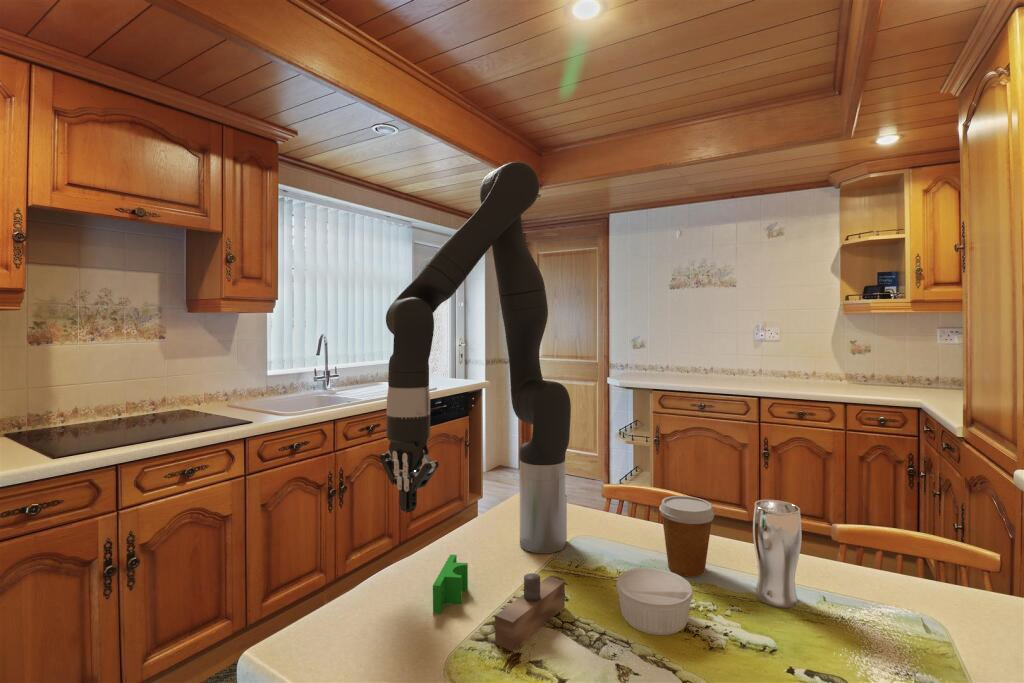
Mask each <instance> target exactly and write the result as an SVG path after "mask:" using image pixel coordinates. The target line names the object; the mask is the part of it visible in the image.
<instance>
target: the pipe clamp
mask: <svg viewBox="0 0 1024 683" xmlns="http://www.w3.org/2000/svg"><path fill="white" fill-rule="evenodd" d="M468 566H469V564H468V562H457V554H449V556H448V558H447V560H446V561H445V563H444V565H443V566H442V568H441V570H440V571H439V573H438V575H437V577H436V579H435V580H434V583H433V584H432V614H436V615H437V614H438V615H441V613H442V611H443V609H444V606H445V605H456V606H457V605H460V606H461V605H462V604H463V592H465V591H468V589H469V584H468V583H469V578H468V577H469V574H468V573H469V572H468V571H469V570H468V569H469V568H468Z"/></svg>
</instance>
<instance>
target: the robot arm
mask: <svg viewBox="0 0 1024 683" xmlns="http://www.w3.org/2000/svg"><path fill="white" fill-rule="evenodd" d="M479 187H480V188H479V198H480V203H481V205H480V206H479V207H478V208H477V210H476V211H475V212H474V213H473V214H472V215H471V216H470V218H468V219H467V221H465V223H463V225H461V226H460V227H459V228H458V229H457V230H456V231H455V232H454V233H453V234H452V235H451V236H449V238H448V239H447V240H446V241H445V242H443V244H442V245H441V246H440V247H439V249H438V250H436V252H435V253H434V255H433V256H432V257H431V258H430V260H429V261H428V262H427V263H426V264H425V266H424V267H423V268H422V269H421V271H420V273H419V274H418V275H417V277H416V278H414V280H413V281H412V282H411V283H410V284H409V285H408V286H407V287H406V288H405V289H404V290H403V291H402V292H401V293H400V294H399V295H398V296H397V297H396V298H395V300H394V301H393V302H392V303H391V304H390V306H389V307H388V309H387V311H386V314H385V324H386V327H387V329H388V331H389V332H390V333H391V334H392V335H393V345H392V346H393V351H392V354H391V355H390V357H389V360H388V371H387V373H388V375H387V376H388V378H387V380H388V381H387V382H388V388H387V394H386V396H387V397H386V430H385V431H386V434H385V435H386V439H387V440H388V441H389V444H388V450H387V451H386V452H385V453H381V454H380V455H379V461H380V463H381V465H382V467H383V469H384V472H385V473H386V475H387V478H388V480H389V481H390V484H391V485H396V486H397V487H396V488H397V489H398V491H399V507H400V509H399V510H400V511H401V512H404V513H407V514H408V513H411V512H414V511H415V509H416V508H417V504H418V503H417V501H418V500H417V499H418V489H421V488H424V487H426V486H427V484H428V483H429V482H430V479H431V478H432V477H433V476H434V474H435V472H436V470H437V469H438V468H439V466H440V465H439V462H438V461H437V460H432V458H431V457H430V456H429V449H428V444H427V443H428V440H429V439H430V437H431V392H430V363H429V362H430V361H429V360H430V356H431V352H432V345H433V341H434V340H433V338H434V333H435V332H434V331H435V318H434V313H435V311H436V310H437V309H438V307H440V305H441V304H443V303H445V302H447V301H448V300H449V299H450V298H451V297H452V296H454V294H455V293H456V292H457V290H458V289H459V288H460V286H461V285H462V283H463V282H464V281H465V279H466V278H467V277H468V276H469V274H470V273H471V272H472V270H473V269H474V268H475V267H476V266H477V264H478V263H479V261H480V260H481V258H483V256H484V255H485V254H486V253H487V251H488V250H489V249H490V248H492V254H493V255H492V257H493V263H494V270H495V274H496V275H495V276H496V281H497V288H498V290H497V291H498V295H499V296H498V298H499V304H500V310H501V316H502V321H503V326H504V332H505V333H504V334H505V341H506V348H507V354H508V364H509V366H508V367H509V380H510V398H511V406H512V409H513V412H514V414H515V416H516V417H517V418H518V420H520V421H521V422H523V423H526V424H529V425H532V432H531V433H532V434H531V435H532V436H531V440H530V441H527V442H524V443H522V445H520V448H519V545H520V547H521V548H522V549H523V550H525V551H527V552H529V553H530V552H531V553H535V554H551V553H556V552H560V551H561V550H563V549H564V548H565V547H566V541H567V538H568V536H567V535H568V532H567V529H568V528H567V524H568V523H567V521H568V520H567V519H568V518H567V514H568V513H567V512H568V510H567V509H568V508H567V503H568V502H567V500H568V499H567V494H566V453H567V450H568V447H569V445H570V439H571V437H570V434H571V417H572V416H571V413H572V409H571V408H572V405H571V404H572V402H571V398H570V394H569V391H568V389H567V388H566V387H565V386H564V385H563V384H562V383H560V382H556V381H551V380H545V379H543V374H542V369H541V361H540V360H541V359H540V348H541V343H542V341H543V338H544V334H545V331H546V326H547V323H548V322H547V321H548V319H549V317H548V316H549V306H548V299H547V292H546V286H545V281H544V278H543V275H542V272H541V270H540V268H539V267H538V265H537V262H536V261H535V259H534V257H533V255H532V254H531V252H530V250H529V248H528V245H527V243H526V240H525V236H524V229H523V221H522V214H524V213H525V212H526V211H527V210H528V209H530V208H531V207H532V206H533V204H535V202H536V200H537V198H538V197H539V192H540V181H539V177H538V175H537V173H536V171H535V170H534V169H533V168H532V167H531V166H530V165H528V164H527V163H523V162H520V161H512V162H508V163H505V164H502V165H501V166H499V167H498V168H495V169H494V170H493V171H490V172H488V174H486V176H484V178H483V180H482V182H481V183H480V186H479Z"/></svg>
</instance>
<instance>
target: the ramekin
mask: <svg viewBox="0 0 1024 683" xmlns="http://www.w3.org/2000/svg"><path fill="white" fill-rule="evenodd" d="M615 583H616V584H615V586H616V591H617V593H618V600H619V606H620V612H621V614H622V617H623V618H624V619H625V621H626V622H627V623H628V624H629V625H630V626H631V627H632V628H633V629H635V630H638V631H640V632H642V633H644V634H649V635H655V636H669V635H674V634H677V633H678V632H680V631H681V630H682V629H684V628H685V627H686V625H687V624H688V620H689V616H690V609H691V603H692V601H693V597H694V590H693V586H692V585H691V583H689V581H688V580H686V579H685V578H684V576H682V575H678V574H676V573H674V572H672V571H670V570H667V569H666V570H665V569H661V568H655V567H635V568H630V569H628V570H625V571H623V572H621V573H620V574H619V575H618V577H617V578H616V581H615Z"/></svg>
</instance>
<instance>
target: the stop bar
mask: <svg viewBox="0 0 1024 683" xmlns="http://www.w3.org/2000/svg"><path fill="white" fill-rule="evenodd" d="M565 586H566V582H565V581H564V580H561V579H558V578H555V577H552V576H547V577H545V578H544V579H543V580H541V575H539V574H537V573H526V574H525V575H523V594H522V595H521V596H519V597H518V598H517V599H516V600H514V601H513V602H511V603H510V604H508V605H506V606H505V607H504V608H503V609H502V610H500V611H499V612H498V613H496V614H495V615H494V644H495V645H497V646H498V647H501V648H503V649H506V650H508V651H511V652H514V651H515V650H516V649H518V648H519V647H520V646H521V645H522V644H523V643H525V642H526V641H527V640H528V639H529V638H530V637H532V636H533V635H534V634H535V633H536V632H537V631H538V630H539V629H541V628H542V627H544V625H545V624H547V623H548V622H549V621H551V619H553V618H554V616H556V615H557V614H558V613H559V612H561V611H562V610H563V609H564V608H565V607H566V606H565V605H566V602H565V601H566V599H565V598H566V597H565V596H566V594H565V593H566V587H565Z"/></svg>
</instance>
